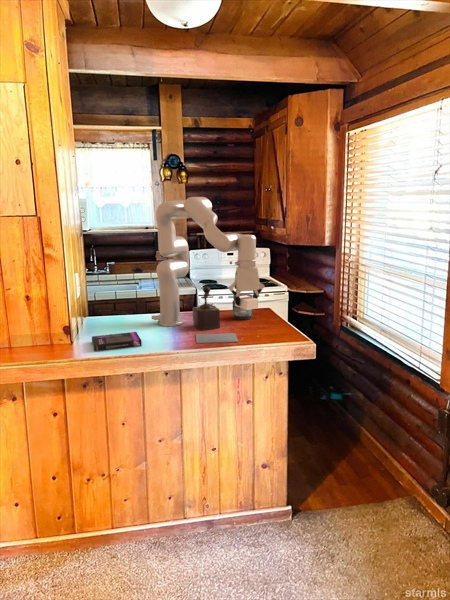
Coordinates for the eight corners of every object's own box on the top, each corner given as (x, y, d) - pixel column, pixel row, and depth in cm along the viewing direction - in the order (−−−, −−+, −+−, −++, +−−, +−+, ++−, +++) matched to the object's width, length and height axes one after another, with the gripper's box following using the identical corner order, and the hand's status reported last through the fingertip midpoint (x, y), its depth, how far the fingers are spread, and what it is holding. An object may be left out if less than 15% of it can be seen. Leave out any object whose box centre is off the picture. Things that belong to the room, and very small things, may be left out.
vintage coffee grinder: (221, 328, 212) (221, 291, 208) (200, 331, 208) (199, 293, 204) (209, 320, 226) (209, 285, 222) (189, 322, 221) (188, 287, 218)
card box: (246, 310, 188) (247, 300, 187) (234, 305, 195) (234, 296, 194) (258, 308, 191) (258, 298, 190) (245, 304, 198) (246, 295, 197)
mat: (196, 343, 189) (196, 342, 189) (195, 335, 201) (195, 334, 201) (238, 342, 191) (238, 341, 191) (235, 334, 202) (235, 333, 202)
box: (137, 339, 199) (91, 343, 193) (136, 331, 199) (91, 335, 192) (141, 348, 186) (93, 352, 180) (141, 339, 186) (93, 344, 180)
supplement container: (243, 314, 237) (243, 292, 235) (256, 318, 229) (257, 295, 227) (228, 317, 231) (228, 295, 228) (241, 321, 223) (241, 298, 220)
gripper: (229, 266, 183) (229, 307, 187) (269, 264, 188) (268, 305, 192) (224, 263, 190) (224, 304, 194) (262, 262, 195) (261, 301, 199)
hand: (246, 304), depth 193 cm, fingers closed on card box, 7 cm apart
